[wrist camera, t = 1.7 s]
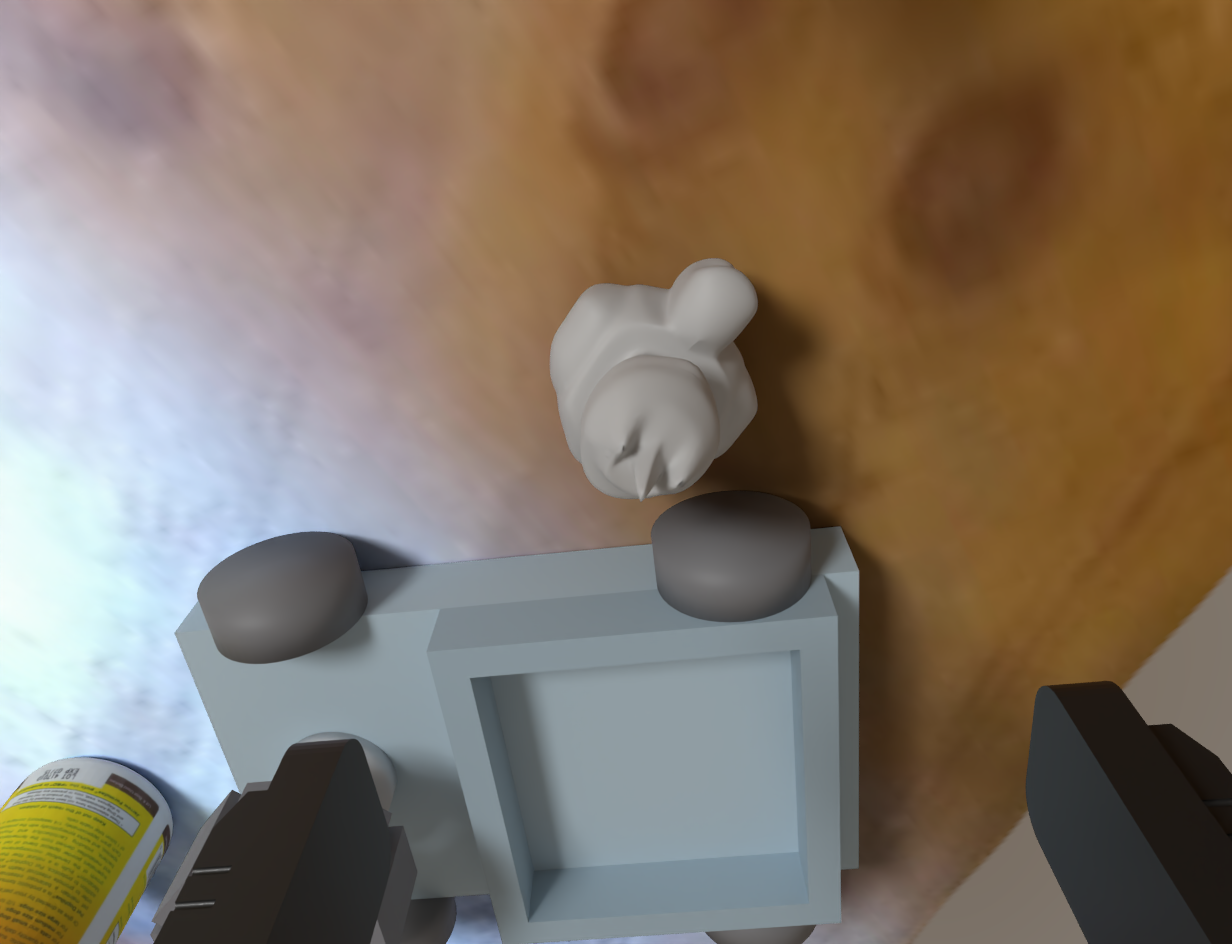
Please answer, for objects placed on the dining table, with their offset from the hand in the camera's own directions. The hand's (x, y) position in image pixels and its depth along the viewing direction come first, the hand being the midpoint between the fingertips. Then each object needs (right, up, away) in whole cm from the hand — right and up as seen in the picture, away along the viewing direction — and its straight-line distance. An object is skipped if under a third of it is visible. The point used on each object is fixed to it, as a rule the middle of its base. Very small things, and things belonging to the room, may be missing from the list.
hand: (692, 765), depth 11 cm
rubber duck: (0, +7, +15) cm, 16 cm away
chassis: (-3, -4, +20) cm, 21 cm away
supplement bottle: (-20, -9, +23) cm, 31 cm away
